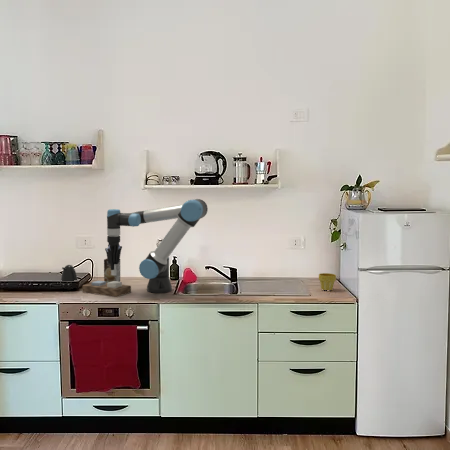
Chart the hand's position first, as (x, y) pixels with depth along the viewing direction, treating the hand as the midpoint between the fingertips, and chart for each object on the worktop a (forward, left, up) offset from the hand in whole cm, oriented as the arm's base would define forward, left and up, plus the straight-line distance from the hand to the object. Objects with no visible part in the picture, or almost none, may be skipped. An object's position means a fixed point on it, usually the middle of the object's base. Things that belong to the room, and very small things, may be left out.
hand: (113, 275), depth 304 cm
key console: (+6, 0, -11) cm, 12 cm away
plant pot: (-109, -69, -11) cm, 130 cm away
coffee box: (+19, -21, -11) cm, 30 cm away
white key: (0, 0, -8) cm, 8 cm away
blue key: (+12, 0, -9) cm, 14 cm away
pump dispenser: (+31, +5, -11) cm, 33 cm away
